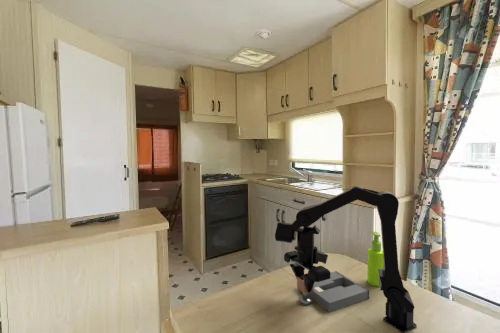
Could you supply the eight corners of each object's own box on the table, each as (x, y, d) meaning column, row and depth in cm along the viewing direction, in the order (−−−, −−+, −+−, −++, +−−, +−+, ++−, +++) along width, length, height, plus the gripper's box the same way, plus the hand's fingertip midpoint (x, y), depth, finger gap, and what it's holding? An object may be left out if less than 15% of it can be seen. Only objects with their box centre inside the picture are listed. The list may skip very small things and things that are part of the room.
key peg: (314, 303, 83) (314, 279, 83) (303, 306, 81) (304, 282, 81) (306, 296, 87) (306, 273, 87) (296, 299, 85) (296, 276, 85)
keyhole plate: (336, 278, 101) (336, 271, 101) (369, 298, 86) (369, 290, 86) (299, 288, 93) (299, 280, 93) (329, 312, 79) (329, 303, 78)
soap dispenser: (379, 278, 101) (379, 230, 100) (386, 287, 94) (387, 236, 93) (364, 277, 101) (365, 230, 101) (370, 286, 95) (371, 235, 94)
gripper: (343, 250, 79) (343, 297, 79) (307, 233, 96) (307, 272, 96) (316, 255, 74) (316, 306, 74) (283, 237, 91) (283, 278, 91)
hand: (305, 288), depth 84 cm, fingers closed on key peg, 4 cm apart
